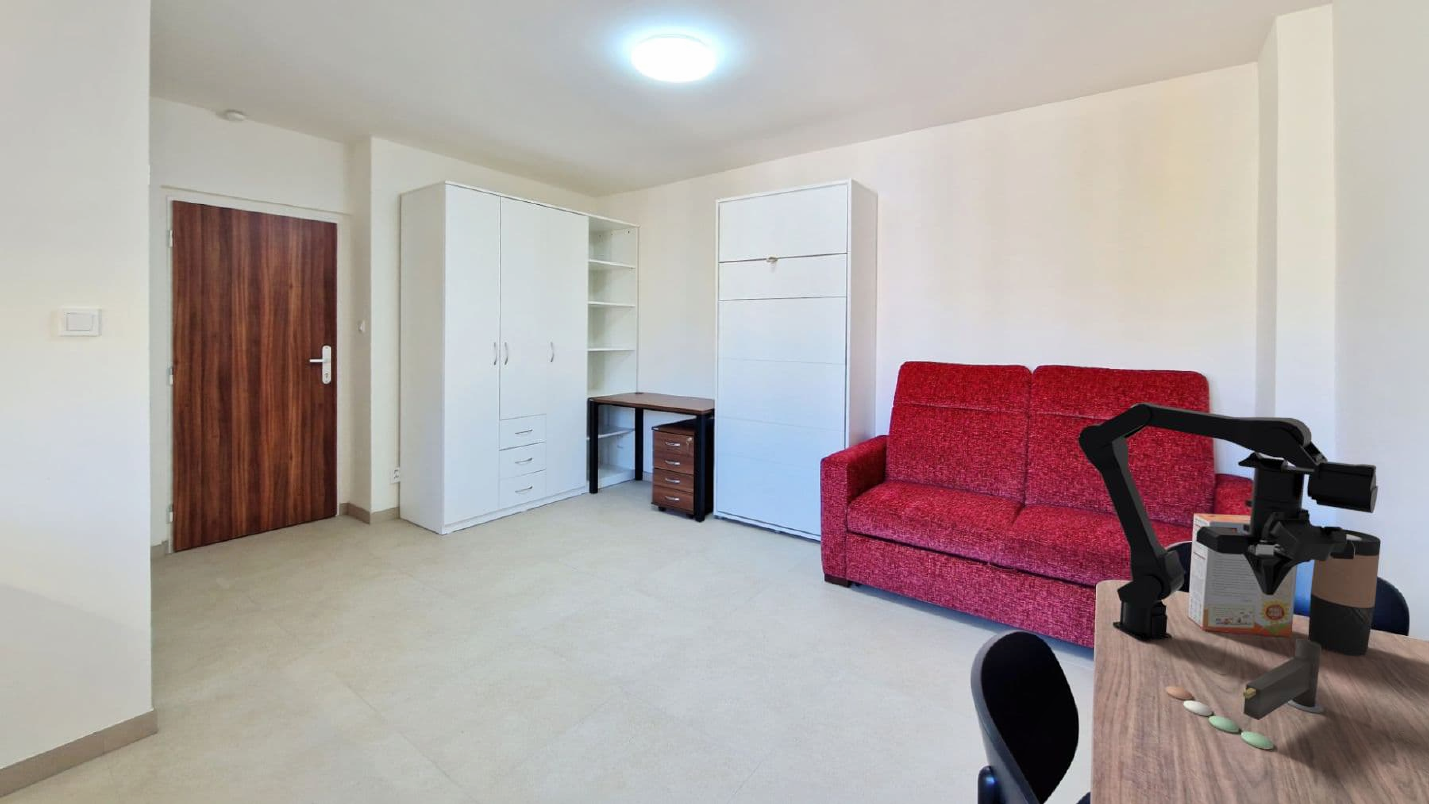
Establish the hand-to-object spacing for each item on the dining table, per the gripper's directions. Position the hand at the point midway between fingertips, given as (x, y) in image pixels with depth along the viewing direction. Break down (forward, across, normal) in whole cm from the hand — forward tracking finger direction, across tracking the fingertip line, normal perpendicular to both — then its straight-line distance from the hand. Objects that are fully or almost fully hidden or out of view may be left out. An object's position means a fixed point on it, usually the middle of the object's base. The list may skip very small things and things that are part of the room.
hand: (1267, 594), depth 95 cm
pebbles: (+13, -8, -11) cm, 19 cm away
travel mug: (+13, +19, +11) cm, 26 cm away
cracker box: (+13, +7, +16) cm, 22 cm away
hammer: (+13, -7, -14) cm, 20 cm away
